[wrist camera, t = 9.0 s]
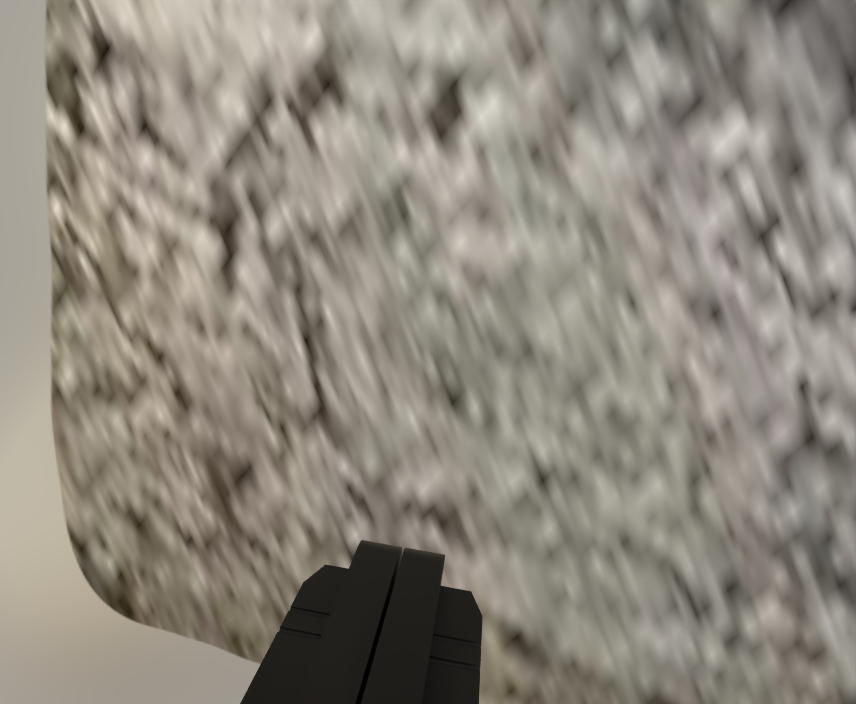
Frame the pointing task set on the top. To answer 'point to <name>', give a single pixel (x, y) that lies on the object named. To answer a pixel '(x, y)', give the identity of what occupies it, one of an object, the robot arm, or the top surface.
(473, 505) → the top surface
